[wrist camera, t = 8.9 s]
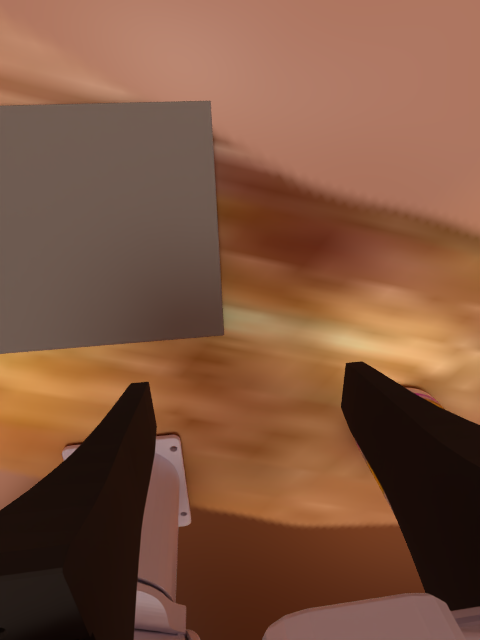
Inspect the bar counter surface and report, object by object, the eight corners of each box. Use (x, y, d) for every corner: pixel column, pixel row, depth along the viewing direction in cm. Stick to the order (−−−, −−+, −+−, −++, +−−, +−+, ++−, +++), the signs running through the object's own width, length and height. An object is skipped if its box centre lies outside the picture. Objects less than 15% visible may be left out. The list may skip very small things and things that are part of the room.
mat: (222, 327, 22) (224, 335, 21) (-165, 358, 20) (-182, 368, 20) (209, 103, 17) (210, 100, 16) (-316, 115, 15) (-348, 114, 14)
